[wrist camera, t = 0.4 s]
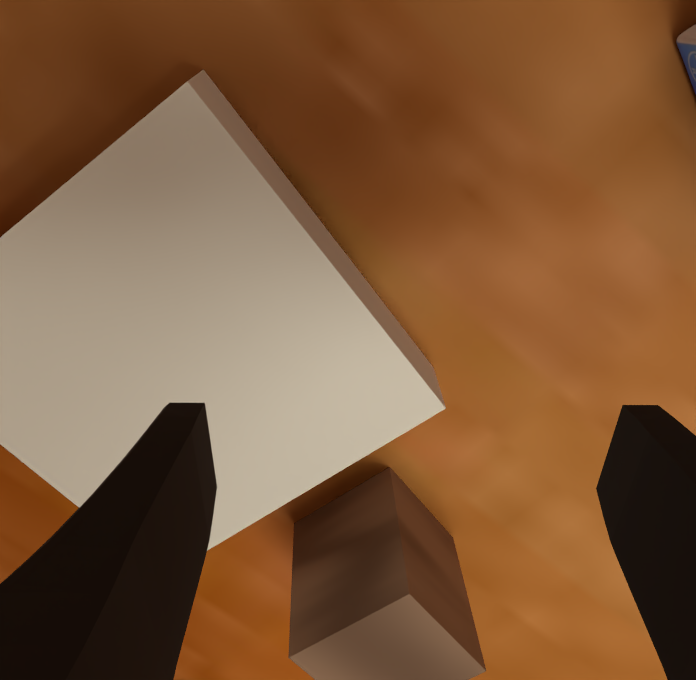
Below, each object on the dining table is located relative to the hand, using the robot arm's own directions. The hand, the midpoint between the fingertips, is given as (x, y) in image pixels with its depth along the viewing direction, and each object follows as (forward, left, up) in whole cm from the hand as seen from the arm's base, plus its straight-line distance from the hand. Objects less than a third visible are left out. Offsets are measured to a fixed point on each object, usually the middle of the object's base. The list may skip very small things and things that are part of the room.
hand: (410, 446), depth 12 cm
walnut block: (-7, -10, -11) cm, 16 cm away
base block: (-7, +1, -11) cm, 13 cm away
